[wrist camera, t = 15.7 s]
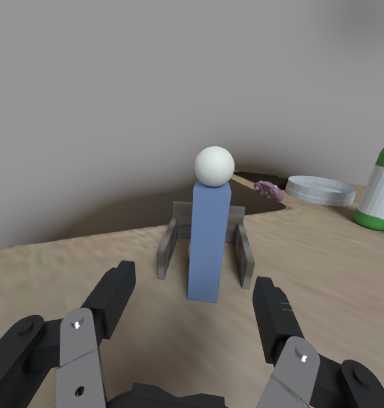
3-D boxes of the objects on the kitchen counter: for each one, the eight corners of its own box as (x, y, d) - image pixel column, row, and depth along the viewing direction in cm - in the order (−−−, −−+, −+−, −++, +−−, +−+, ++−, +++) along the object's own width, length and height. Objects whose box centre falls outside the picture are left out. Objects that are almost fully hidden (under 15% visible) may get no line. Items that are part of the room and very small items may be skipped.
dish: (349, 195, 76) (354, 182, 74) (355, 213, 59) (362, 198, 57) (289, 183, 87) (292, 173, 86) (279, 196, 70) (283, 183, 68)
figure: (217, 304, 26) (239, 150, 18) (185, 300, 26) (193, 147, 19) (217, 280, 30) (234, 145, 22) (189, 277, 30) (197, 143, 23)
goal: (249, 289, 29) (258, 244, 26) (157, 278, 30) (156, 234, 27) (238, 241, 41) (244, 206, 38) (173, 234, 42) (174, 200, 39)
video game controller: (253, 197, 72) (250, 182, 68) (262, 190, 73) (259, 175, 69) (276, 206, 64) (274, 190, 60) (285, 199, 65) (284, 182, 62)
